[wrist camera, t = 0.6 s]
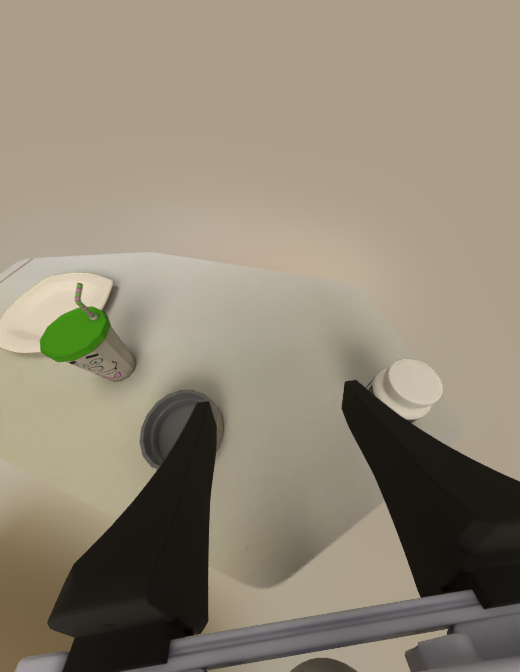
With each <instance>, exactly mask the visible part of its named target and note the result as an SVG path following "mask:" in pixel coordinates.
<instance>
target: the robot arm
mask: <svg viewBox="0 0 520 672" xmlns="http://www.w3.org/2000/svg"><path fill="white" fill-rule="evenodd" d="M342 411H343V413H344V416H345V419H346V421H347V424H348V426H349V428H350V430H351V432H352V434H353V436H354V438H355V440H356V442H357V444H358V446H359V447H360V449H361V451H362V453H363V455H364V457H365V459H366V461H367V462H368V464H369V466H370V468H371V470H372V472H373V474H374V476H375V479H376V481H377V483H378V486H379V488H380V490H381V493H382V495H383V498H384V500H385V503H386V505H387V507H388V510H389V513H390V515H391V518H392V520H393V523H394V525H395V528H396V530H397V533H398V536H399V539H400V541H401V544H402V547H403V549H404V552H405V555H406V558H407V560H408V564H409V566H410V569H411V572H412V575H413V578H414V581H415V584H416V587H417V590H418V592H419V594H420V597H421V598H418V599H412V600H406V601H400V602H394V603H388V604H382V605H376V606H370V607H364V608H358V609H352V610H346V611H340V612H334V613H328V614H322V615H316V616H311V617H304V618H299V619H293V620H287V621H281V622H275V623H269V624H263V625H257V626H251V627H245V628H240V629H234V630H227V631H221V632H215V633H210V634H203V635H198V636H193V635H196V634H200V633H201V632H202V631H203V629H204V628H205V626H206V624H207V622H208V551H209V516H210V497H211V488H212V480H213V472H214V464H215V456H216V447H217V425H216V422H215V419H214V415H213V412H212V409H211V406H210V402H209V401H205V402H198V403H197V404H196V405H195V407H194V409H193V411H192V413H191V415H190V417H189V419H188V421H187V423H186V425H185V427H184V428H183V430H182V432H181V434H180V435H179V437H178V439H177V441H176V442H175V444H174V446H173V447H172V449H171V450H170V452H169V453H168V455H167V457H166V458H165V460H164V461H163V463H162V464H161V466H160V467H159V468H158V470H157V471H156V473H155V474H154V475H153V477H152V478H151V479H150V481H149V482H148V483H147V485H146V486H145V487H144V488H143V490H142V491H141V492H140V493H139V495H138V496H137V497H136V498H135V500H134V501H133V502H132V503H131V504H130V506H129V507H128V508H127V509H126V510H125V511H124V512H123V513H122V515H121V516H120V517H119V518H118V519H117V520H116V521H115V523H113V525H112V526H111V527H110V528H109V529H108V530H107V531H106V532H105V533H104V534H103V535H102V536H101V537H100V538H99V539H98V540H97V541H96V542H95V543H94V544H93V545H92V546H91V548H89V549H88V551H87V552H86V553H85V554H84V555H83V556H82V557H81V558H80V559H79V560H77V561H76V563H74V565H73V567H72V569H71V571H70V573H69V575H68V577H67V578H66V581H65V583H64V585H63V587H62V590H61V592H60V594H59V597H58V599H57V601H56V603H55V606H54V608H53V610H52V613H51V615H50V617H49V619H48V622H47V623H48V626H49V627H50V629H52V630H54V631H57V632H60V633H63V634H66V635H69V636H72V637H75V639H74V641H73V644H72V647H71V650H70V652H54V653H48V654H42V655H36V656H31V657H24V658H23V659H22V660H21V661H20V662H19V663H18V666H17V668H16V670H15V672H207V671H206V670H212V669H217V668H223V667H229V666H235V665H241V664H246V663H252V662H258V661H264V660H270V659H276V658H281V657H287V656H293V655H299V654H305V653H311V652H316V651H322V650H328V649H334V648H340V647H345V646H351V645H357V644H363V643H368V642H374V641H380V640H386V639H392V638H398V637H403V636H409V635H415V634H421V633H426V632H433V631H438V630H444V629H448V631H447V635H445V636H442V637H438V638H434V639H430V640H426V641H422V642H418V646H416V647H415V648H413V649H410V650H408V651H406V652H405V657H406V660H407V662H408V665H409V668H410V671H411V672H520V481H517V480H515V479H513V478H510V477H508V476H506V475H504V474H501V473H499V472H497V471H495V470H493V469H491V468H489V467H487V466H485V465H483V464H481V463H479V462H477V461H475V460H473V459H471V458H469V457H467V456H465V455H463V454H461V453H459V452H458V451H456V450H454V449H452V448H451V447H449V446H447V445H445V444H443V443H442V442H440V441H438V440H437V439H435V438H433V437H432V436H430V435H429V434H427V433H425V432H424V431H422V430H421V429H419V428H418V427H416V426H415V425H413V424H412V423H410V422H409V421H407V420H406V419H405V418H403V417H402V416H400V415H399V414H398V413H396V412H395V411H394V410H392V409H391V408H390V407H389V406H387V405H386V404H385V403H383V402H382V401H381V400H380V399H379V398H377V397H376V396H375V395H374V394H372V393H371V392H370V391H369V390H368V389H366V388H365V387H364V386H363V385H362V384H360V383H359V382H358V381H357V380H353V381H346V382H345V384H344V393H343V401H342ZM187 636H192V637H187ZM185 637H186V638H185Z"/></svg>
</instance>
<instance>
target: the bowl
mask: <svg viewBox="0 0 520 672" xmlns="http://www.w3.org/2000/svg"><path fill="white" fill-rule="evenodd" d="M205 401H209V402H210V406H211V409H212V412H213V415H214V419H215V422H216V425H217V447H216V451H217V450H218V448H219V447H220V444H221V440H222V436H223V422H222V417H221V415H220V413H219V411H218V409H217V408H216V406H215V405H214V404H213V402H212V401H211V400H210V399H209V398H208V397H206V396H205V395H204V394H203V393H200V392H197V391H194V390H180V391H177V392H174V393H171V394H169V395H167V396H165V397H164V398H163V399H161V400H160V401H159V402H157V403H156V404H155V405H154V407H153V408H152V409H151V410H150V412H149V413H148V414H147V416H146V418H145V421H144V423H143V425H142V428H141V435H140V446H141V450H142V454H143V457H144V458H145V459H146V461H147V462H148V463H149V464H150V466H151V467H153V468H155V469H157V470H158V468H159V467H160V466H161V464H162V463H163V461H164V460H165V458H166V457H167V455H168V453H169V452H170V450H171V449H172V447H173V446H174V444H175V442H176V441H177V439H178V437H179V435H180V434H181V432H182V430H183V428H184V427H185V425H186V423H187V421H188V419H189V417H190V415H191V413H192V411H193V409H194V407H195V405H196V404H197V403H198V402H205Z"/></svg>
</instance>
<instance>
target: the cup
mask: <svg viewBox="0 0 520 672" xmlns="http://www.w3.org/2000/svg"><path fill="white" fill-rule="evenodd" d="M82 288H83V284H82V283H77V287H76V293H75V299H74V300H75V303H76V304H77V305H78V306H79V307H80V308H76V309H74V310H72V311H69V312H67V313H65V314H63V315H61V316H60V317H58V318H57V319H56V320H55V321H54V322H52V323H51V324H50V325H49V326H48V327H47V328H46V330H45V332H44V334H43V335H42V337H41V339H40V350H41V353H43V354H45V355H47V356H48V357H50V358H52V359H53V360H55V361H57V362H65V361H66V362H68V363H70V364H73V365H75V366H78V367H80V368H82V369H85V370H87V371H90V372H92V373H94V374H97V375H99V376H102V377H104V378H106V379H109V380H111V381H122V380H124V379H126V378H127V377H129V376H130V375H131V374H132V372H133V371H134V370H135V366H136V362H135V359H134V357H133V356H132V355H131V353H130V352H129V350H128V349H127V348H126V346H125V345H124V343H123V342H122V341H121V339H120V338H119V336H118V335H117V334H116V332H115V331H114V330H113V328H112V327H111V325H110V322H109V319H108V316H107V315H106V313H105V312H104V311H102V310H100V309H97V308H95V307H93V306H92V307H86V306H85V305H84V304H83V303H82V302H81V293H82Z"/></svg>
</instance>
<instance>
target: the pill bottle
mask: <svg viewBox="0 0 520 672" xmlns="http://www.w3.org/2000/svg"><path fill="white" fill-rule="evenodd" d="M366 389H368V390H369V391H370V392H371V393H372V394H374V395H375V396H376V397H377V398H379V399H380V400H381V401H382V402H383V403H385V404H386V405H387V406H389V407H390V408H391V409H392V410H394V411H395V412H396V413H398V414H399V415H400V416H402V417H403V418H405V419H406V420H407V421H409V422H410V423H413V422H414V421H416V420H418V419H420V418H422V417H423V416H425V415H426V414H427V413H428V412H429V410H430V409H431V407H432V404H433V403H435V402H436V401H437V400H438V399H439V398H440V397H441V395H442V391H443V387H442V383H441V380H440V378H439V376H438V375H437V374H436V372H435V371H433V369H431V368H430V367H429V366H427V365H426V364H424V363H422V362H420V361H417V360H413V359H401V360H398V361H396V362H394V363H393V364H392V365H391V366H390V367H388V368H385V369H383V370H381V371H380V372H379V373H378V374H377V375H376V376H375V377H374V378H373V380H372V381H371V382H370V384H369V385H368V386H367V387H366Z"/></svg>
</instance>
